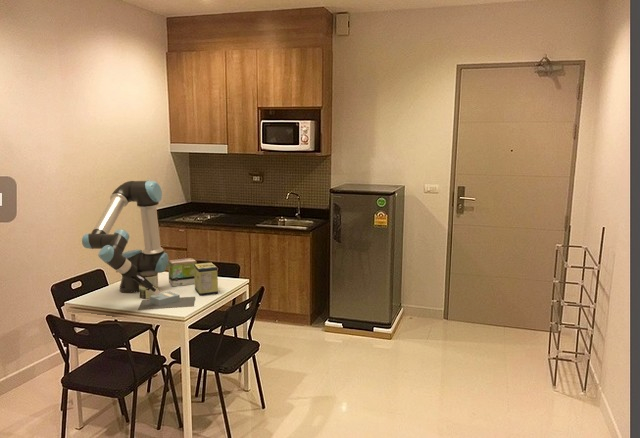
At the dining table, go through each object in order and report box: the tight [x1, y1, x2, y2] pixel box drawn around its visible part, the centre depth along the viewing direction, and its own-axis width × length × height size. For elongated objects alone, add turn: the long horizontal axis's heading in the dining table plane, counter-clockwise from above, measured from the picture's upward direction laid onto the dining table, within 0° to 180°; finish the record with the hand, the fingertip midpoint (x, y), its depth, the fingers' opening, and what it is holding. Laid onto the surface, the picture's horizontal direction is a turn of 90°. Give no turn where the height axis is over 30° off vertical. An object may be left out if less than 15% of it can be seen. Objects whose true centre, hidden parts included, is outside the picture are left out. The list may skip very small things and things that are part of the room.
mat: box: [137, 296, 196, 311], centre depth 266 cm, size 18×28×1 cm, turn 102°
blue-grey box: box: [150, 291, 181, 306], centre depth 268 cm, size 4×10×12 cm
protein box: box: [194, 261, 219, 297], centre depth 289 cm, size 10×16×16 cm
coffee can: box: [138, 271, 159, 300], centre depth 278 cm, size 10×10×14 cm
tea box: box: [167, 257, 198, 288], centre depth 306 cm, size 15×10×15 cm, turn 120°
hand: (158, 293), depth 265 cm, fingers closed
